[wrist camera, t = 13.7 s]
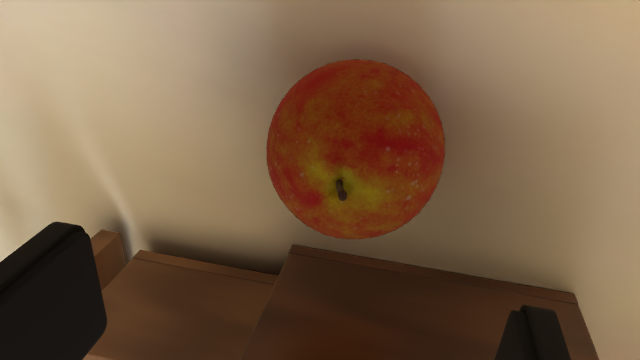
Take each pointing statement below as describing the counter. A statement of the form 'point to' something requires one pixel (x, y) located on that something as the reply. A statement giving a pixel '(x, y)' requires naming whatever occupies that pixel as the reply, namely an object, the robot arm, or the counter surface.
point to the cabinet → (395, 312)
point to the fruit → (355, 149)
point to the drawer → (174, 305)
